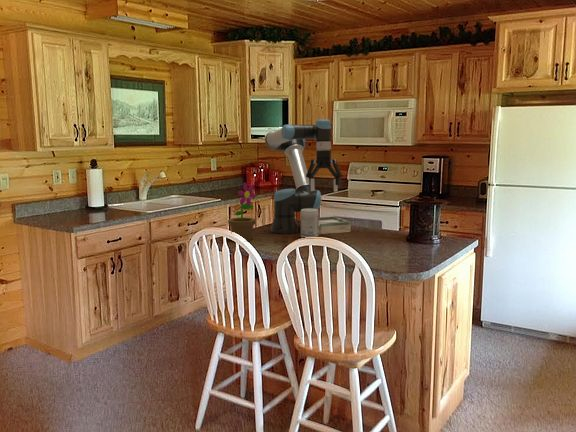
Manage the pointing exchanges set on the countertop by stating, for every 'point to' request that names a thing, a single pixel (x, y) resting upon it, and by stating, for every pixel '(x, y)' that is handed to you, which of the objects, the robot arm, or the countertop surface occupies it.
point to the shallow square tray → (333, 225)
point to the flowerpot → (242, 224)
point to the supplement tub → (309, 222)
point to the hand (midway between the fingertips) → (323, 191)
